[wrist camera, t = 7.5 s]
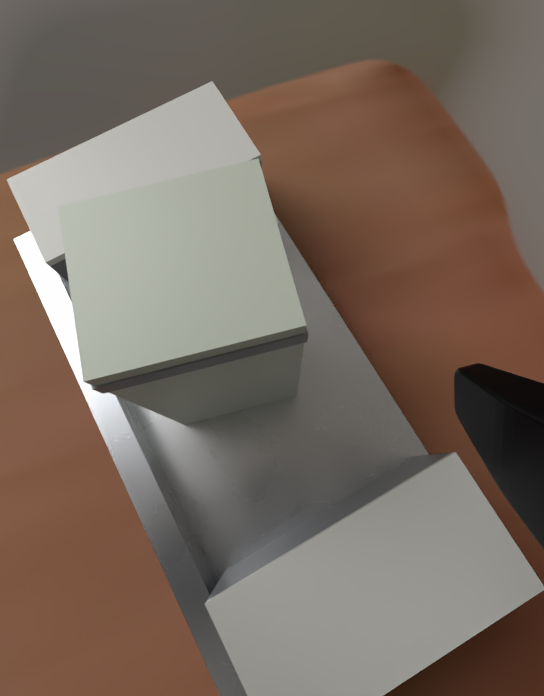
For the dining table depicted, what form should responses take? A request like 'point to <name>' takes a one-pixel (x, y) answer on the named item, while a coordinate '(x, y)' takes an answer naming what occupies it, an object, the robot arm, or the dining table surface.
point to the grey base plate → (242, 452)
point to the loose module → (185, 294)
